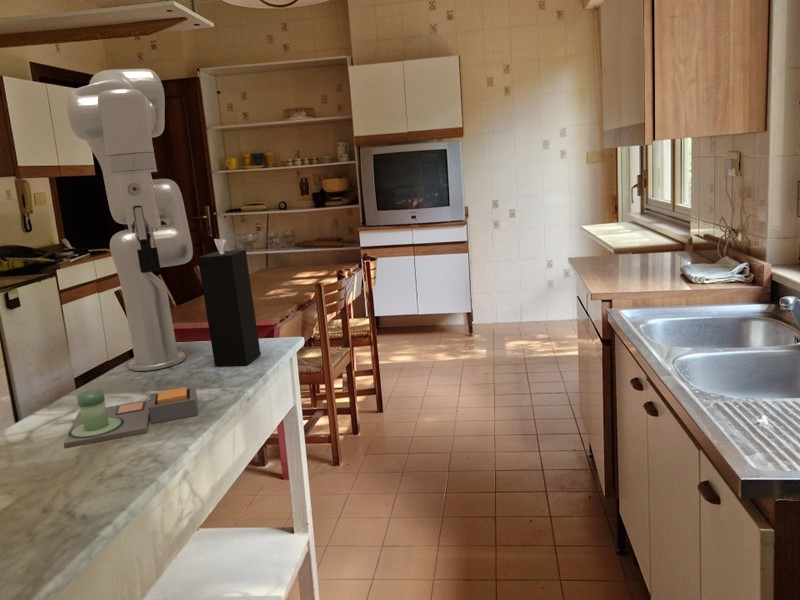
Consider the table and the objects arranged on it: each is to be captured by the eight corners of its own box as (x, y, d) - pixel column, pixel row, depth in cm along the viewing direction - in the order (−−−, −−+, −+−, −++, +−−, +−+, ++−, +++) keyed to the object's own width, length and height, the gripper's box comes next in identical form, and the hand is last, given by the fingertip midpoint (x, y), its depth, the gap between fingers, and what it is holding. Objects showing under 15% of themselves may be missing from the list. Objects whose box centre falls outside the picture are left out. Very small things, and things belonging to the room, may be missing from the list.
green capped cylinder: (85, 424, 121) (78, 392, 119) (110, 420, 122) (104, 388, 121) (81, 433, 117) (75, 400, 115) (108, 428, 118) (101, 395, 117)
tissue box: (247, 365, 151) (228, 239, 145) (214, 367, 152) (194, 242, 147) (261, 355, 158) (243, 235, 153) (229, 356, 160) (211, 237, 154)
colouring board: (79, 416, 129) (78, 411, 128) (152, 403, 132) (151, 398, 132) (64, 448, 114) (63, 442, 113) (146, 432, 117) (145, 427, 117)
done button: (160, 404, 127) (158, 391, 127) (188, 399, 128) (186, 387, 128) (159, 412, 122) (157, 400, 122) (188, 407, 124) (186, 395, 123)
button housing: (153, 409, 128) (151, 394, 128) (197, 401, 130) (195, 386, 130) (151, 423, 121) (148, 407, 120) (198, 415, 123) (195, 399, 122)
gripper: (153, 162, 110) (171, 274, 114) (157, 163, 124) (174, 263, 128) (103, 167, 108) (124, 280, 112) (114, 167, 123) (132, 268, 126)
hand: (150, 271), depth 120 cm, fingers closed
